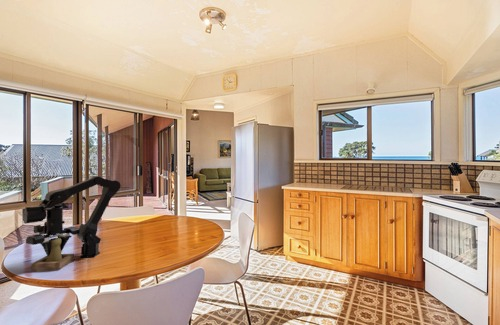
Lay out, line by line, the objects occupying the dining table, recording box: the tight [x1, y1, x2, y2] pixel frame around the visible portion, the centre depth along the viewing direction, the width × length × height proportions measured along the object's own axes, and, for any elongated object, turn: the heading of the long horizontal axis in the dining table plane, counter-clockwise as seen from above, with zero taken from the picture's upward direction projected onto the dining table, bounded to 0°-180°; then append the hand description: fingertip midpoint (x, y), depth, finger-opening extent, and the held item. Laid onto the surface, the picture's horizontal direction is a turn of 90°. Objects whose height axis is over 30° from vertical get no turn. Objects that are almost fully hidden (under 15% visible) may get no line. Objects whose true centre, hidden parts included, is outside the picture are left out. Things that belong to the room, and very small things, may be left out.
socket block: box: [30, 253, 75, 272], centre depth 110 cm, size 11×11×3 cm
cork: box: [46, 237, 62, 262], centre depth 110 cm, size 6×6×11 cm
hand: (54, 254), depth 110 cm, fingers closed on cork, 4 cm apart
